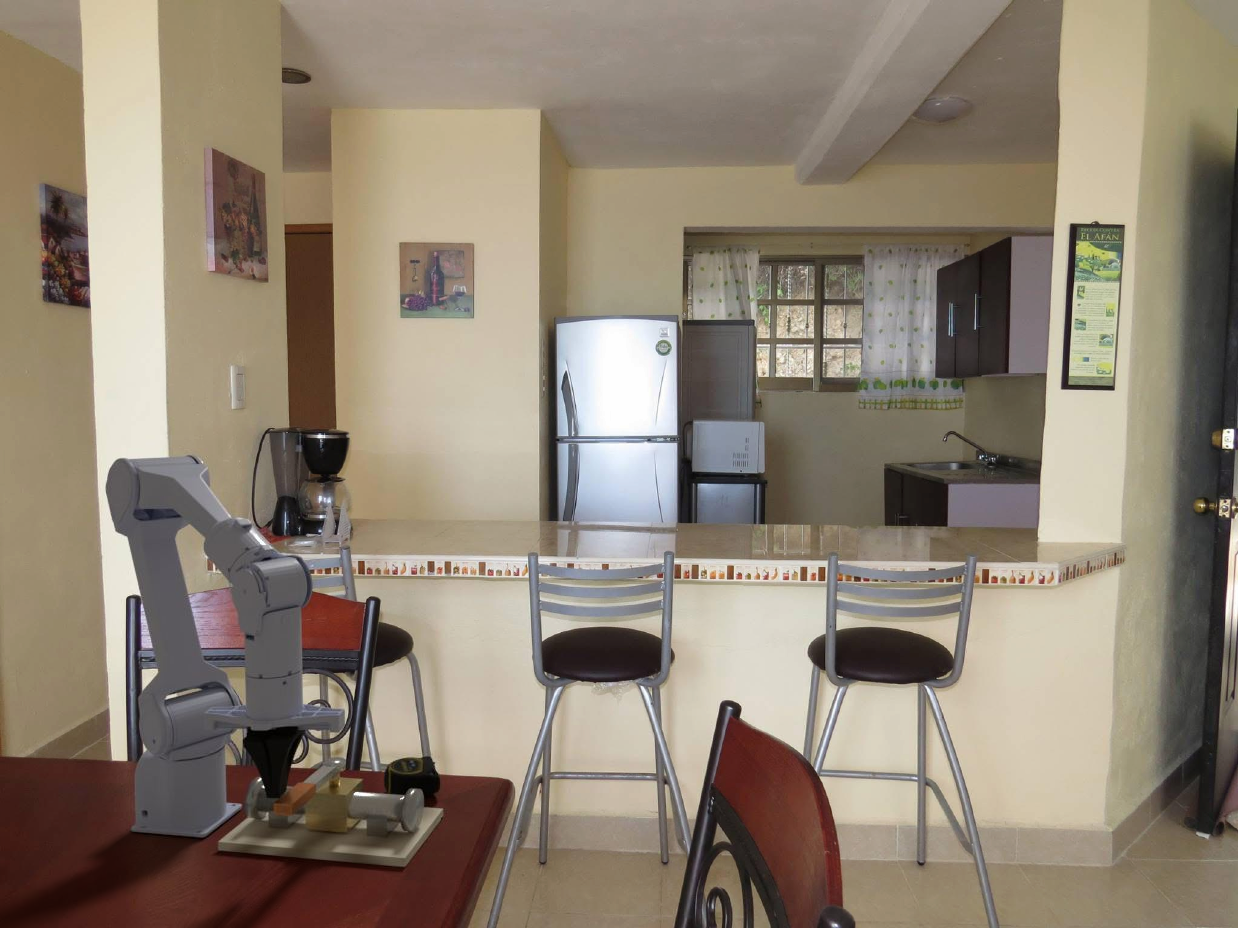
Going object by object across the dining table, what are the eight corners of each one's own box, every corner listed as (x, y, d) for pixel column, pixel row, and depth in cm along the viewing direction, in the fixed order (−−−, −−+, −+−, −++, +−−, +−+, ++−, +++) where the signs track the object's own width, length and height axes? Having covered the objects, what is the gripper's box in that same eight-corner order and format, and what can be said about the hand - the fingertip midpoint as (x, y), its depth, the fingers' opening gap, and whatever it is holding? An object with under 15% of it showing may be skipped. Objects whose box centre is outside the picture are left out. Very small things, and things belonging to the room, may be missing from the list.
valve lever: (329, 765, 106) (329, 755, 106) (348, 766, 105) (348, 756, 105) (272, 814, 93) (271, 802, 93) (293, 815, 93) (293, 804, 93)
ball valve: (244, 826, 104) (243, 773, 104) (266, 809, 109) (265, 758, 108) (409, 840, 101) (408, 786, 101) (424, 821, 106) (423, 769, 105)
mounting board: (218, 850, 101) (218, 841, 101) (274, 803, 113) (274, 795, 113) (405, 866, 97) (405, 857, 97) (443, 816, 109) (443, 808, 109)
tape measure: (441, 800, 114) (441, 772, 114) (385, 807, 112) (385, 778, 112) (435, 779, 121) (435, 751, 120) (382, 785, 118) (382, 757, 118)
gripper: (188, 681, 92) (191, 809, 93) (328, 683, 92) (330, 812, 93) (220, 661, 99) (223, 781, 100) (350, 663, 99) (352, 783, 100)
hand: (276, 794), depth 97 cm, fingers closed
